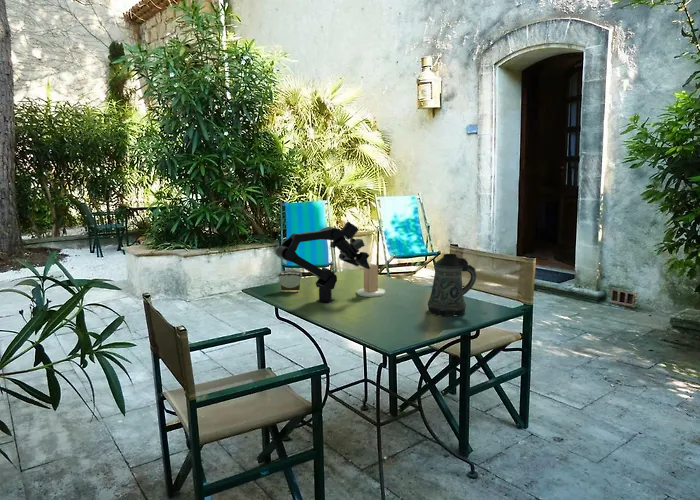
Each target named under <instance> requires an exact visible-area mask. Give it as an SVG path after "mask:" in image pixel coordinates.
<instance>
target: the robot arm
mask: <svg viewBox="0 0 700 500" xmlns="http://www.w3.org/2000/svg"><path fill="white" fill-rule="evenodd" d="M358 231H359V228H358V226H357V225H354V224H353V223H351V222H350V221H347V222H346V223H345V224H344V226H343V227H342V228H341V229H339V228H338V227H334V226H326V227H324V228H321V229H319V230H316V231H315V230H313V231H306V232H297V233H295V232H294V233H292V234H291V235H289V237H288V238H287V239H286V240H284V241H283V243H281V245H279V246H278V247H277V248H276V251H275V253H276V257H277V258H279V259H281V260H285V261H287V262H291V263H293V264H294V265H296V266H298V267H300V268H301V269H304V270H306V271H307V272H309V273H310V274H311V275H314V276H315V277H316V279H317V280H316V281H315V285H316V288H318V299H316V302H317V301H318V302H319V303H328V304H329V303H330V302H333V301H335V300H336V299H335V298H333V295H332V294H333V291H332V290H334V289H335V286H336V283H337V282H338V276H337V275H336V272H334V271H332V270H330V269H329V268H326V267H323V266H322V267H321V268H320V267H318V266H317V265H314V263H311V262H310V261H308V260H306V259H304V258H302V257H301V256H300V255H298V253H297V252H296V251H297V249H298V247H299V245H300V244H301V243H304V242H310V241H318V240H326V241H330V246H329V248H333V249H335V248H337V250H339V255H338V258H339V260H340V261H343V262H344V263H347V264H350V265H352V266H355V267H359V266H360V267H363V269H364V268H366V269H370V267H369V264H370V263H369V262H368V258H369V257H370V254H369V253H368V252H366V251H365V252H364V251H360V249H361V248H363V247H366V245H365V243H364V240H363V239H361V238H354V237H355V235H356V234H357V233H358ZM348 240H349V241H348Z"/></svg>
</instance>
